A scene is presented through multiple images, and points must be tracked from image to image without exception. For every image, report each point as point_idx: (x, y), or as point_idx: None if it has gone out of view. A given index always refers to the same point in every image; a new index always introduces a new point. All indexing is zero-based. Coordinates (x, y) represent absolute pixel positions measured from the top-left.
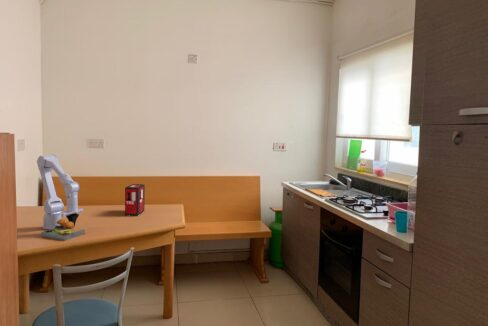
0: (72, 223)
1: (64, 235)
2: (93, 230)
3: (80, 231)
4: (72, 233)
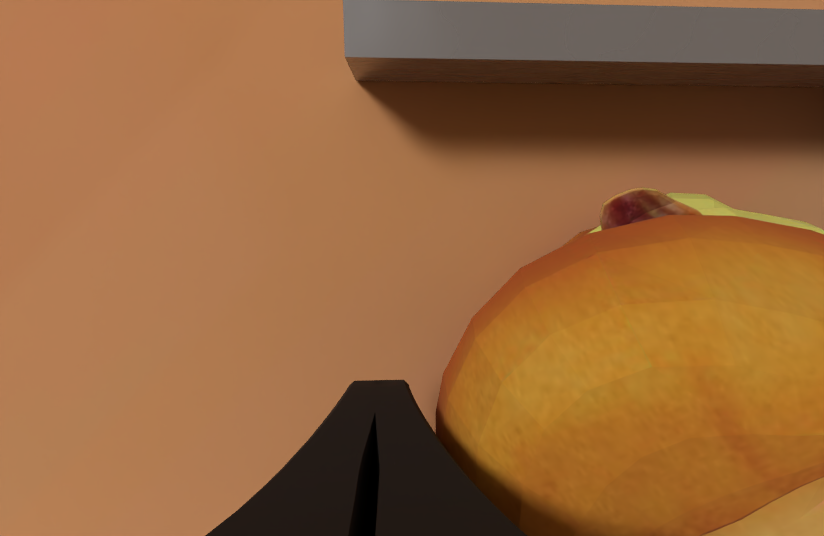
0: (661, 304)
1: None
2: (39, 61)
3: (510, 7)
4: (791, 22)
